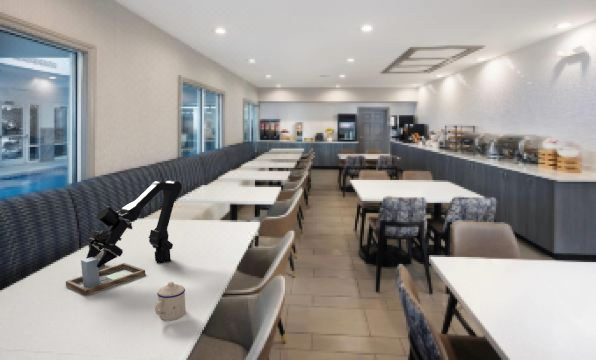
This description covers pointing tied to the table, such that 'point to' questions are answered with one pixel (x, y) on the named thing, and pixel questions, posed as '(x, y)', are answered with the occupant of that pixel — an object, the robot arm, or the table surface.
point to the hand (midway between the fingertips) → (91, 264)
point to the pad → (115, 276)
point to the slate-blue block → (90, 272)
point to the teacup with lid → (171, 302)
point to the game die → (100, 255)
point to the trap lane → (106, 279)
